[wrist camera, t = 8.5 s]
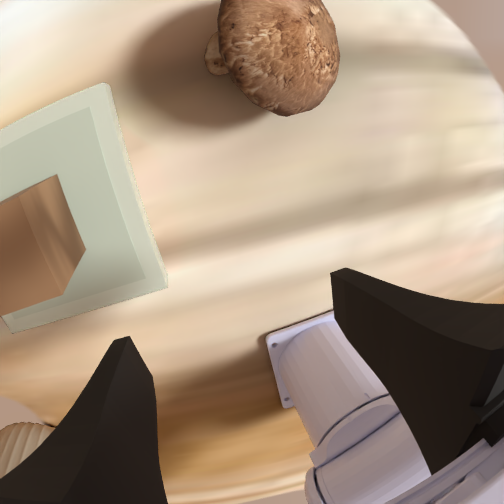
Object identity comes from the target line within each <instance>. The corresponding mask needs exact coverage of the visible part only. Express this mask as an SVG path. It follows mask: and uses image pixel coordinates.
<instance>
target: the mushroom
mask: <svg viewBox="0 0 504 504" xmlns="http://www.w3.org/2000/svg"><path fill="white" fill-rule="evenodd" d="M204 58H205V62H206V66H207V68H208V70H209V71H210V73H212V74H215V75H217V76H219V75H222V74H225V73H229V74H230V76H231V79H232V81H233V82H234V83H235V84H236V85H237V86H238V87H239V88H240V89H241V90H242V92H243V93H244V94H245V95H246V96H247V97H248V98H249V99H250V100H251V101H252V102H253V103H254V104H256V105H258V106H260V107H262V108H264V109H266V110H269V111H271V112H273V113H275V114H277V115H279V116H290V115H294V114H298V113H302V112H305V111H309V110H312V109H313V108H315V107H317V106H318V105H319V104H320V103H321V102H322V101H323V99H324V98H325V97H326V95H327V93H328V92H329V90H330V89H331V87H332V86H333V84H334V83H335V81H336V77H337V74H338V69H339V61H340V52H339V47H338V41H337V36H336V30H335V25H334V23H333V21H332V19H331V17H330V14H329V13H328V11H327V9H326V8H325V6H324V4H323V3H322V1H321V0H221V5H220V9H219V14H218V31H217V32H216V33H215V34H214V35H212V37H211V39H210V41H209V43H208V45H207V48H206V52H205V56H204Z"/></svg>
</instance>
